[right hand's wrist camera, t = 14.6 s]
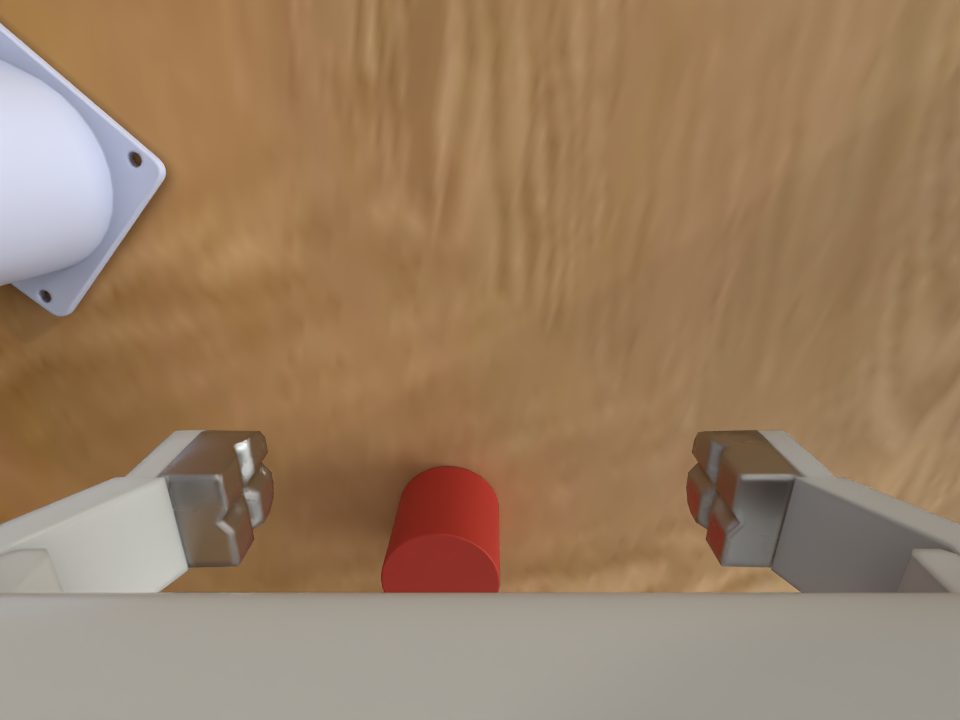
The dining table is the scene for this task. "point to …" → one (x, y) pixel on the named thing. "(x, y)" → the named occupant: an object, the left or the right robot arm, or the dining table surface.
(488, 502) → the can
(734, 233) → the dining table surface
